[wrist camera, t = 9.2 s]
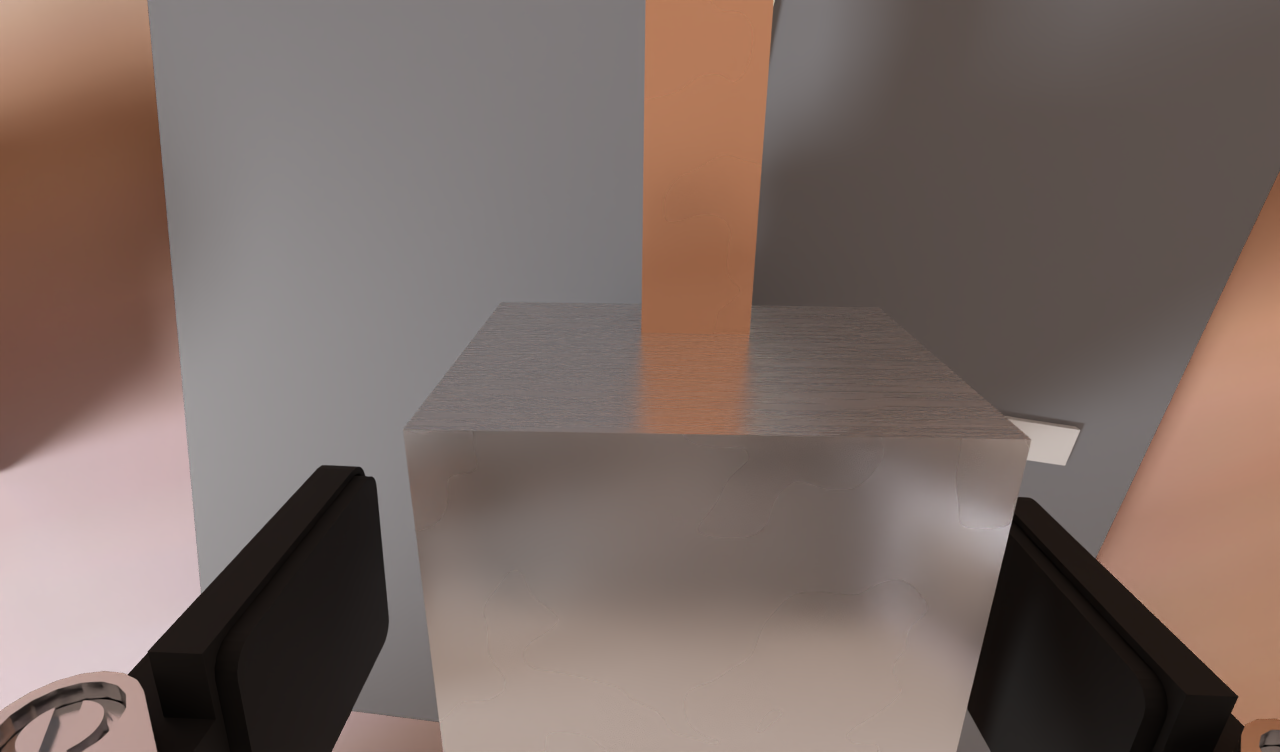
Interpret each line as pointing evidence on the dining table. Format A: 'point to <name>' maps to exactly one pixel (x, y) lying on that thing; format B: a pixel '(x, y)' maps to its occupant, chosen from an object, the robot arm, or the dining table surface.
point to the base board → (613, 219)
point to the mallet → (706, 482)
